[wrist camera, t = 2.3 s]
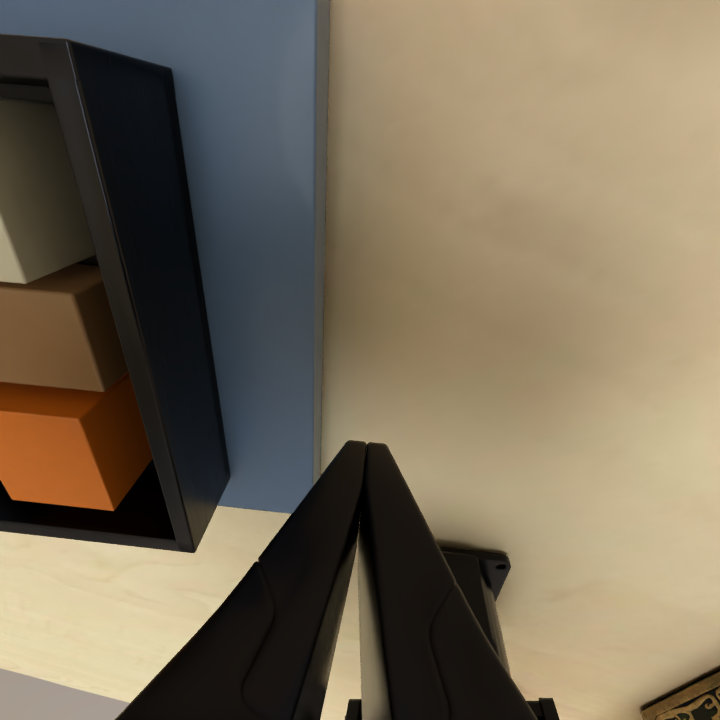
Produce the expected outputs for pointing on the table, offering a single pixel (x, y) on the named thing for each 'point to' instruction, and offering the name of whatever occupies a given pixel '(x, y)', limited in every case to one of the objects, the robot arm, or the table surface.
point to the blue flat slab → (241, 204)
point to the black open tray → (101, 306)
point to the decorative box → (689, 702)
